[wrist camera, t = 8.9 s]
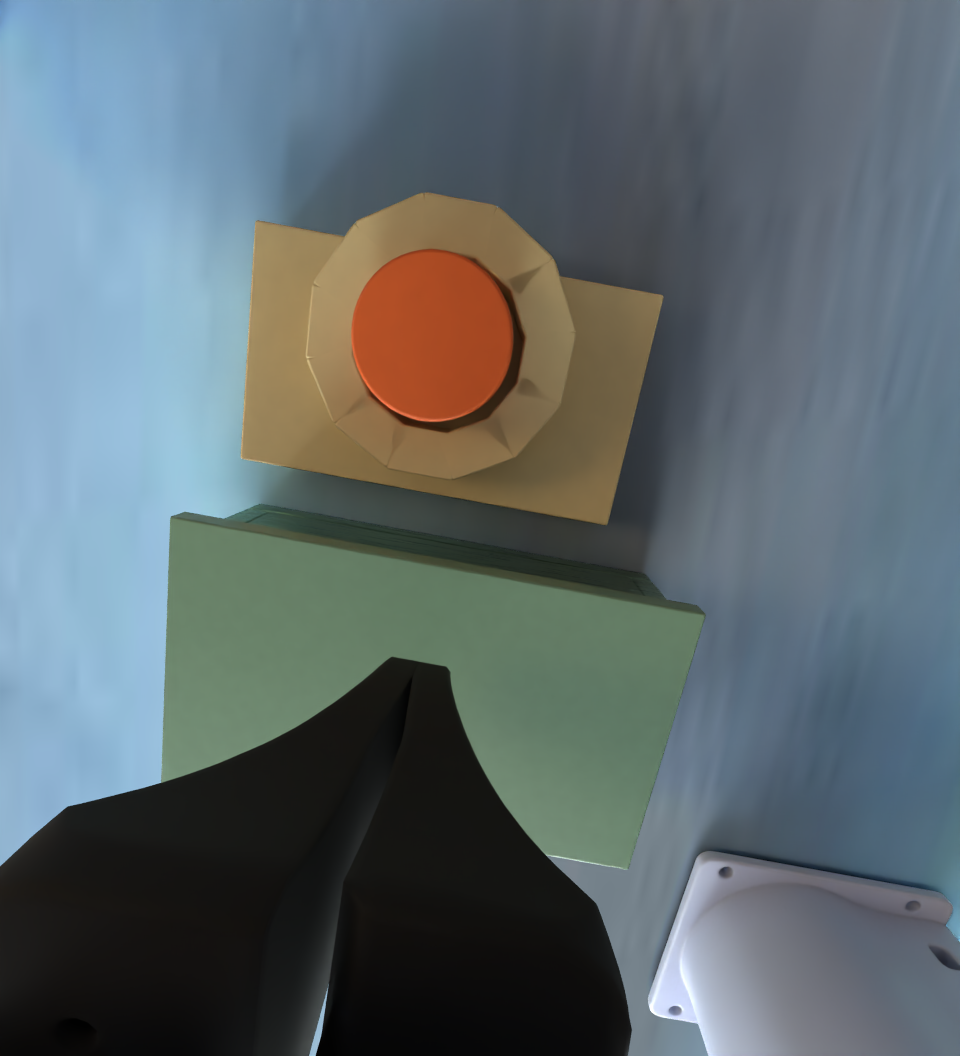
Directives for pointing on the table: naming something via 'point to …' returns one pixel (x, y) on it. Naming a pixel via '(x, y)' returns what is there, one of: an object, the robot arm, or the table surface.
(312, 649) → the lid
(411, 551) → the box
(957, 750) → the table surface
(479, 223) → the switch block
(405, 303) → the switch
